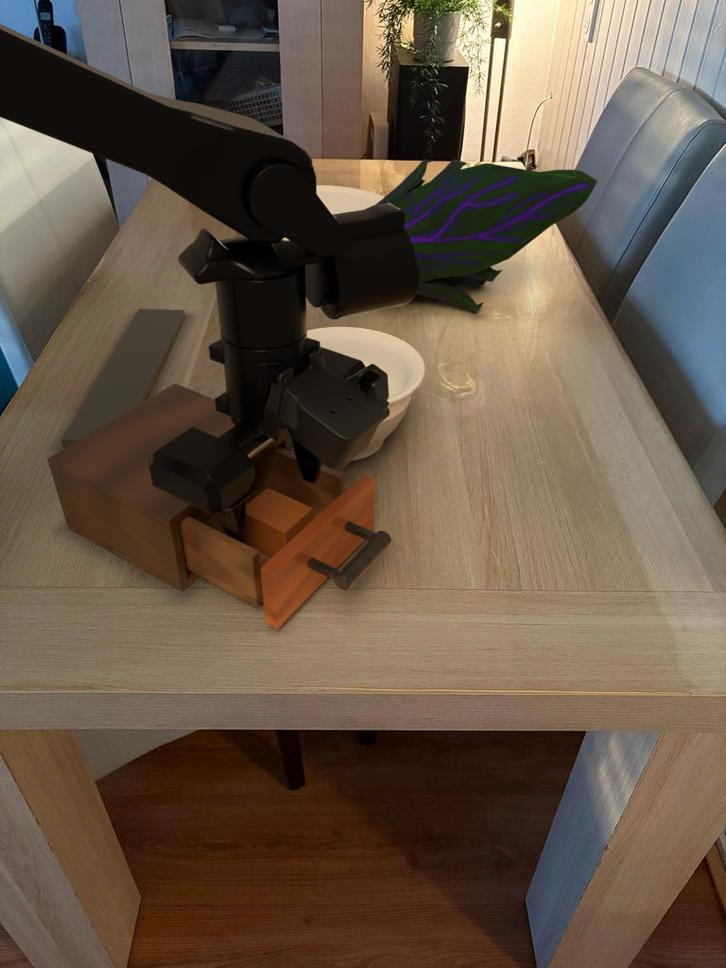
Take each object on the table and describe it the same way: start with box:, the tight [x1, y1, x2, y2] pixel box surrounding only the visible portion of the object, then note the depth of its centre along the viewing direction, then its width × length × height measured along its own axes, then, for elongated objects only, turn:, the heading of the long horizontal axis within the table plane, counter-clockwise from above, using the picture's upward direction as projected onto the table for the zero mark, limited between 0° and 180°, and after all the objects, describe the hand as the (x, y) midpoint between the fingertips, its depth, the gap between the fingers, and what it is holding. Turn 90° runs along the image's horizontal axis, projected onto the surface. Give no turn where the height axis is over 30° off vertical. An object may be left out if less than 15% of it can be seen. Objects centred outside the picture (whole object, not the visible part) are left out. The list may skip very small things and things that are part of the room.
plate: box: [280, 184, 385, 242], centre depth 129 cm, size 29×29×1 cm
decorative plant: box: [375, 158, 598, 314], centre depth 99 cm, size 21×26×30 cm
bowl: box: [307, 326, 426, 462], centre depth 74 cm, size 16×16×8 cm
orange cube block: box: [244, 488, 313, 558], centre depth 60 cm, size 5×4×4 cm
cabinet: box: [46, 383, 292, 593], centre depth 65 cm, size 14×15×8 cm
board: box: [61, 308, 186, 448], centre depth 86 cm, size 30×6×1 cm, turn 179°
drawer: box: [178, 446, 392, 630], centre depth 60 cm, size 16×13×6 cm
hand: (275, 509), depth 59 cm, fingers open, 9 cm apart
